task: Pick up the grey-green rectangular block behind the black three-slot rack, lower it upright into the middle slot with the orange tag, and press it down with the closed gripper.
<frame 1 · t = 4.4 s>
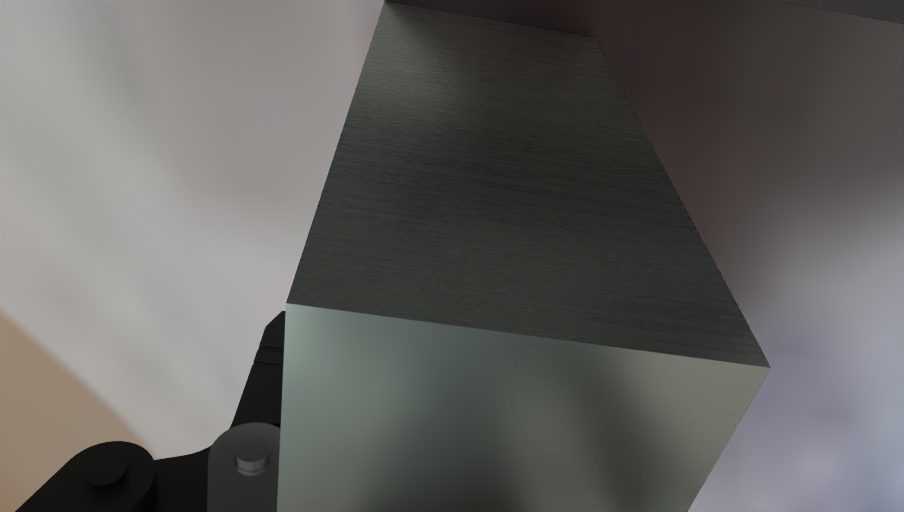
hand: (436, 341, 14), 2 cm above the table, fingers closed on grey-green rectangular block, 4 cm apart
grey-green rectangular block: (440, 275, 16), on the table, touching gripper
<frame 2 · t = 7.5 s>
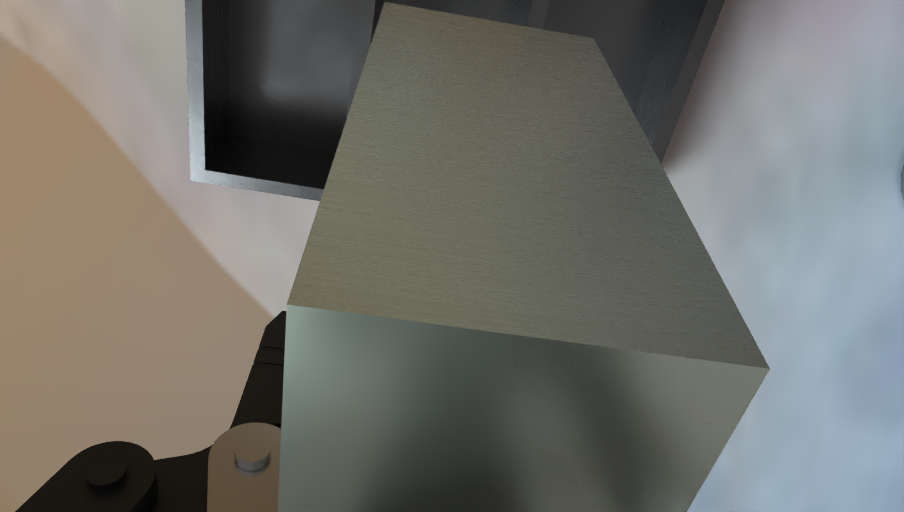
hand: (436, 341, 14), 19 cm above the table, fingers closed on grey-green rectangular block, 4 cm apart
grey-green rectangular block: (440, 275, 16), point 17 cm above the table, touching gripper
rack: (447, 14, 30), on the table
when the fingers open (6 cm above the table, at t = 10.7 s): grey-green rectangular block drops 3 cm, resting on rack.
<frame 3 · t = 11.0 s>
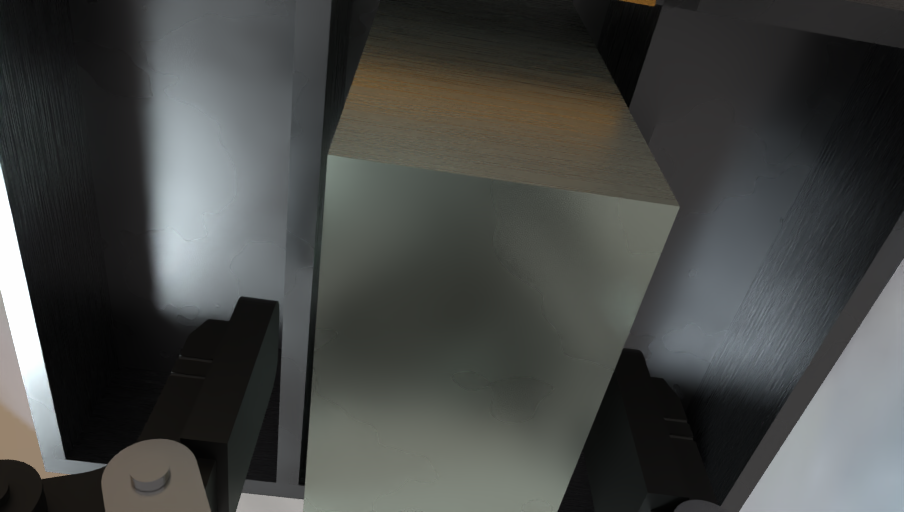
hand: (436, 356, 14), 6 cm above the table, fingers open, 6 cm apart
grey-green rectangular block: (440, 217, 19), point 1 cm above the table, touching rack
rack: (441, 206, 19), on the table
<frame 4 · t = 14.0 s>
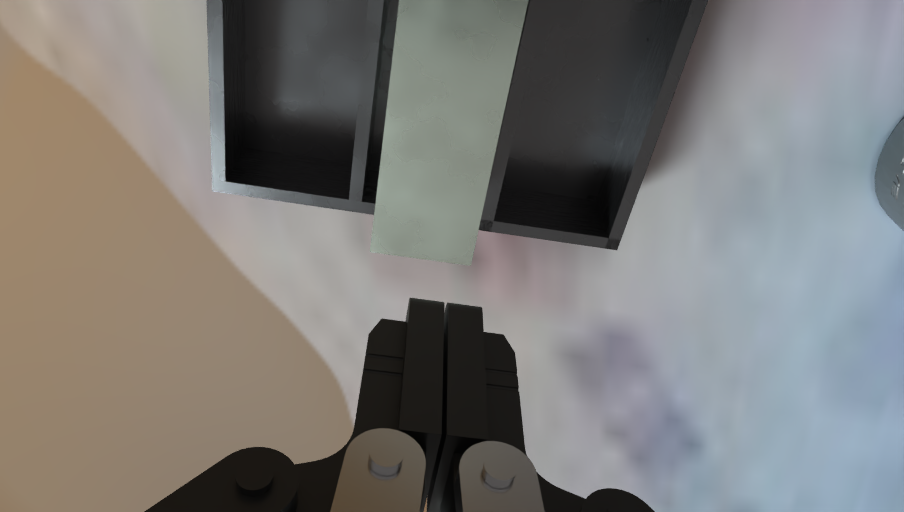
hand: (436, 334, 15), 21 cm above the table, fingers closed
grey-green rectangular block: (446, 38, 31), point 1 cm above the table, touching rack
rack: (447, 34, 32), on the table
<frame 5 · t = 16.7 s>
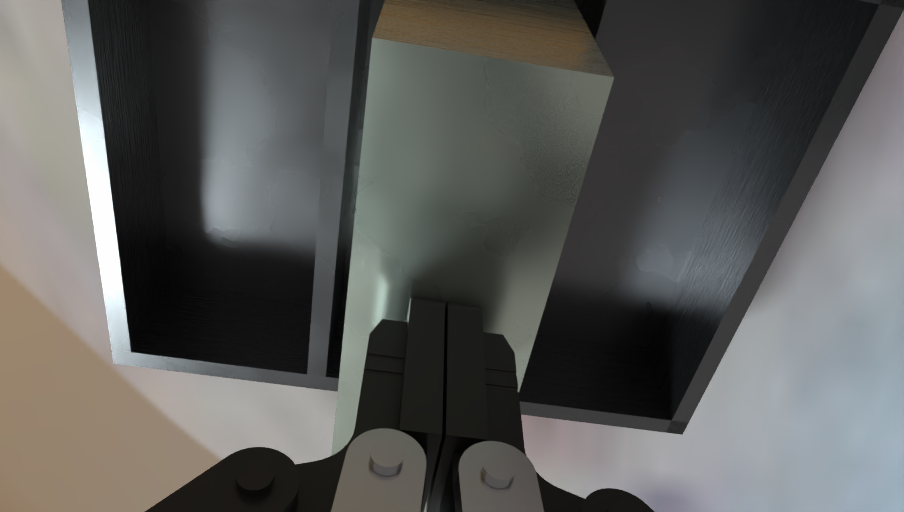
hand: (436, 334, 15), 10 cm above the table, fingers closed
grey-green rectangular block: (446, 149, 22), point 1 cm above the table, touching gripper, rack
rack: (446, 141, 23), on the table
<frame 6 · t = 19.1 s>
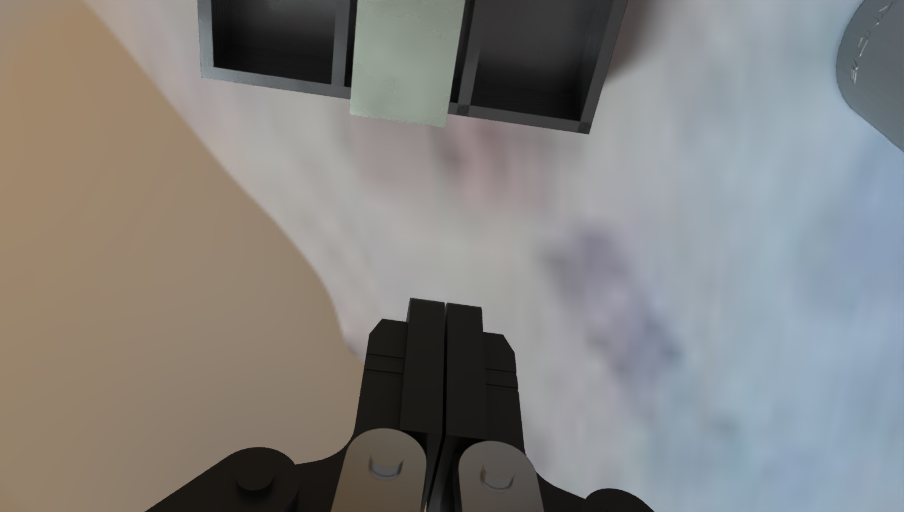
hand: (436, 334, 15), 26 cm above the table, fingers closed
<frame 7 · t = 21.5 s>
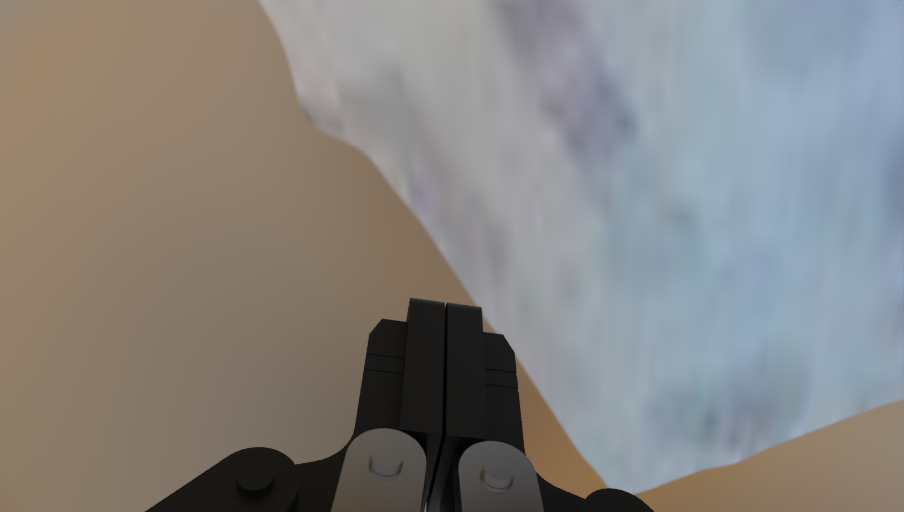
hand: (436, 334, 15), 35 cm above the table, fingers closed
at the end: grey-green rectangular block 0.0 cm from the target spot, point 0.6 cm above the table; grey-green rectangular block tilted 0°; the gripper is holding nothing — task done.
